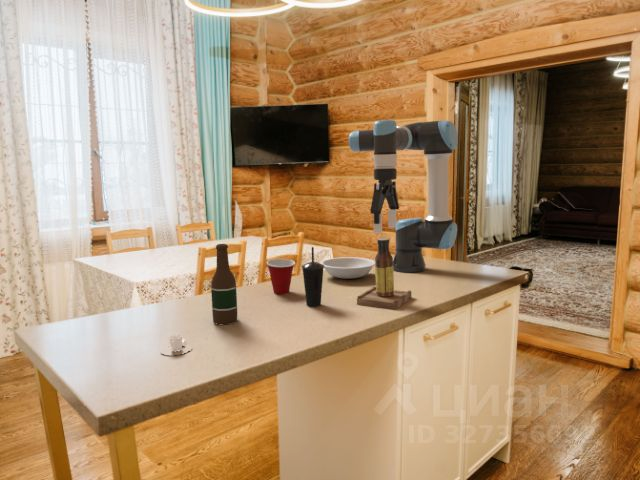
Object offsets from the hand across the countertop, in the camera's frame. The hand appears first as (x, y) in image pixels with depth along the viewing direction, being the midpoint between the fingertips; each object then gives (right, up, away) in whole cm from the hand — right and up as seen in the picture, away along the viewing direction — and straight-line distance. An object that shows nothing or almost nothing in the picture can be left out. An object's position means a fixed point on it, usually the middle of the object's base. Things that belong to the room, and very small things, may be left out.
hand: (385, 230), depth 161 cm
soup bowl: (-10, -19, +40) cm, 45 cm away
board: (0, -24, +3) cm, 25 cm away
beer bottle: (-52, -28, -16) cm, 61 cm away
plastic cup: (-37, -23, +17) cm, 47 cm away
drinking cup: (-24, -26, 0) cm, 35 cm away
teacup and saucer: (-57, -32, -37) cm, 75 cm away
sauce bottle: (0, -23, +3) cm, 23 cm away
